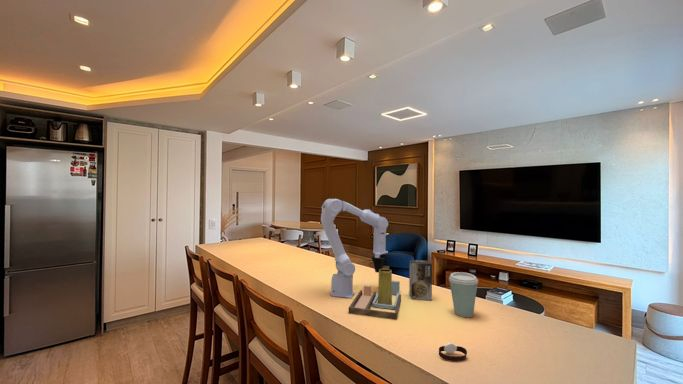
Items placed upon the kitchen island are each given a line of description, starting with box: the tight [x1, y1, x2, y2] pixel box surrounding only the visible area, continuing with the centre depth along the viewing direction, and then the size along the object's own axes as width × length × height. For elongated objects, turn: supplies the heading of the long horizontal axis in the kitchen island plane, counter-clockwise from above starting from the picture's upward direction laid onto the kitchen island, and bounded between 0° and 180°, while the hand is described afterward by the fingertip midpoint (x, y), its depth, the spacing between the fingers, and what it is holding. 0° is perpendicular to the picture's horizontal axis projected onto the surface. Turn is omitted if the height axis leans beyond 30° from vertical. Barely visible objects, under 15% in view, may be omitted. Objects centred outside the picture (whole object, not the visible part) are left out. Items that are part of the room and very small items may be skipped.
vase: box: [376, 268, 393, 305], centre depth 117 cm, size 6×6×14 cm
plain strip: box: [355, 284, 373, 309], centre depth 117 cm, size 5×20×5 cm, turn 164°
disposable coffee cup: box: [448, 271, 479, 318], centre depth 109 cm, size 11×11×15 cm
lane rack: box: [348, 289, 402, 321], centre depth 115 cm, size 18×22×2 cm
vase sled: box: [371, 280, 401, 311], centre depth 122 cm, size 9×20×6 cm, turn 164°
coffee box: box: [408, 259, 433, 301], centre depth 127 cm, size 9×6×16 cm
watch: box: [438, 342, 468, 362], centre depth 79 cm, size 8×5×4 cm, turn 93°
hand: (378, 270), depth 134 cm, fingers open, 7 cm apart
